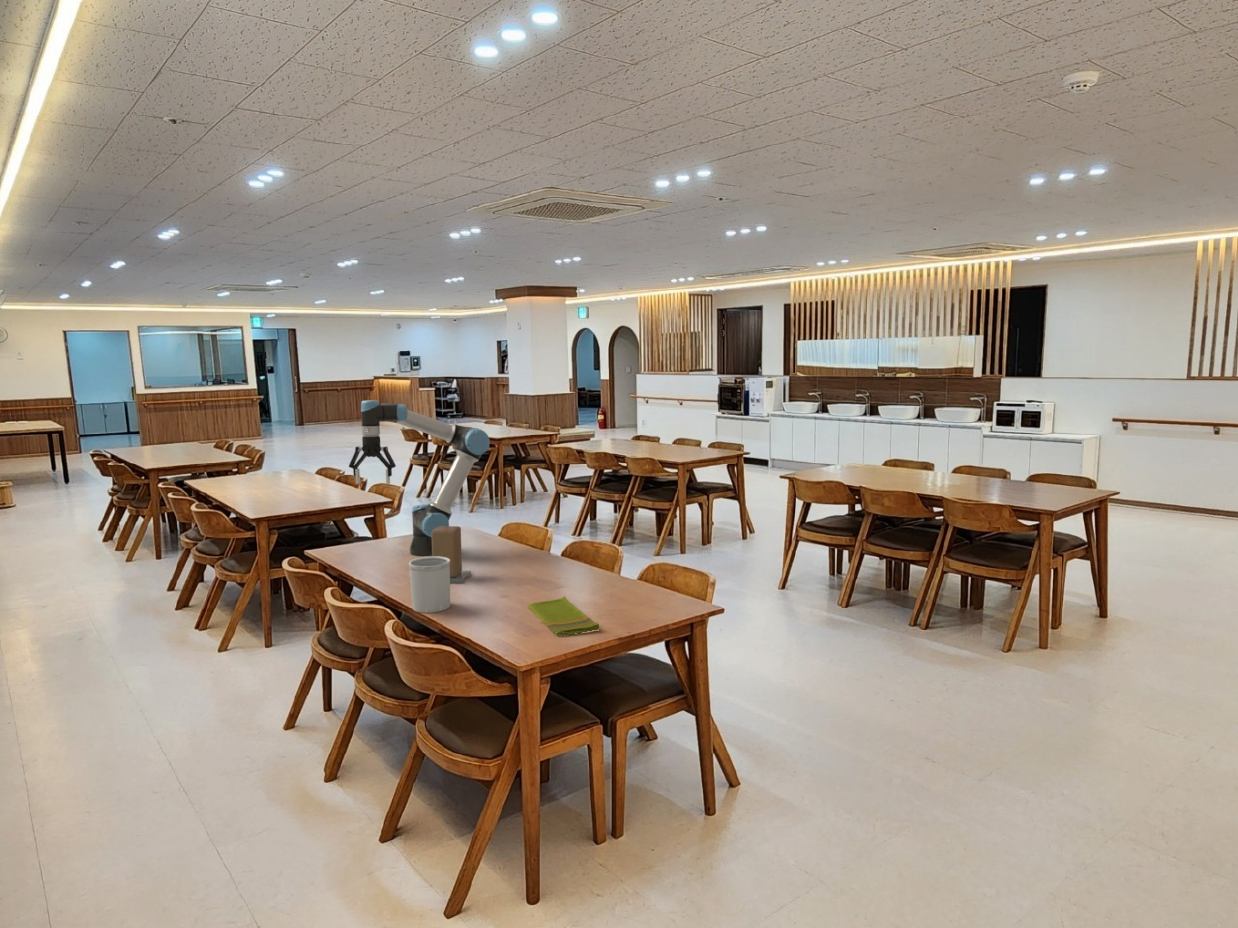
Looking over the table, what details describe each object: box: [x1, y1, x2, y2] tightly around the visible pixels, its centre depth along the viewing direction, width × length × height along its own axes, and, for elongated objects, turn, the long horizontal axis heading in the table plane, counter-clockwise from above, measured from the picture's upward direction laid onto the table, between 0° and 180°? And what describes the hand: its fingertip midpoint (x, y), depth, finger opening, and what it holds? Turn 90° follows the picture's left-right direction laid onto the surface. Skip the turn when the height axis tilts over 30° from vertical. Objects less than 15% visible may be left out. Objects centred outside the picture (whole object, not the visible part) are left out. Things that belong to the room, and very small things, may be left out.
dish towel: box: [527, 596, 601, 637], centre depth 278 cm, size 15×36×3 cm, turn 23°
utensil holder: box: [408, 555, 451, 614], centre depth 290 cm, size 15×15×18 cm
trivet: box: [450, 570, 472, 585], centre depth 331 cm, size 16×16×1 cm
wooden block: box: [431, 525, 463, 578], centre depth 329 cm, size 10×10×20 cm
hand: (373, 483), depth 348 cm, fingers open, 13 cm apart
